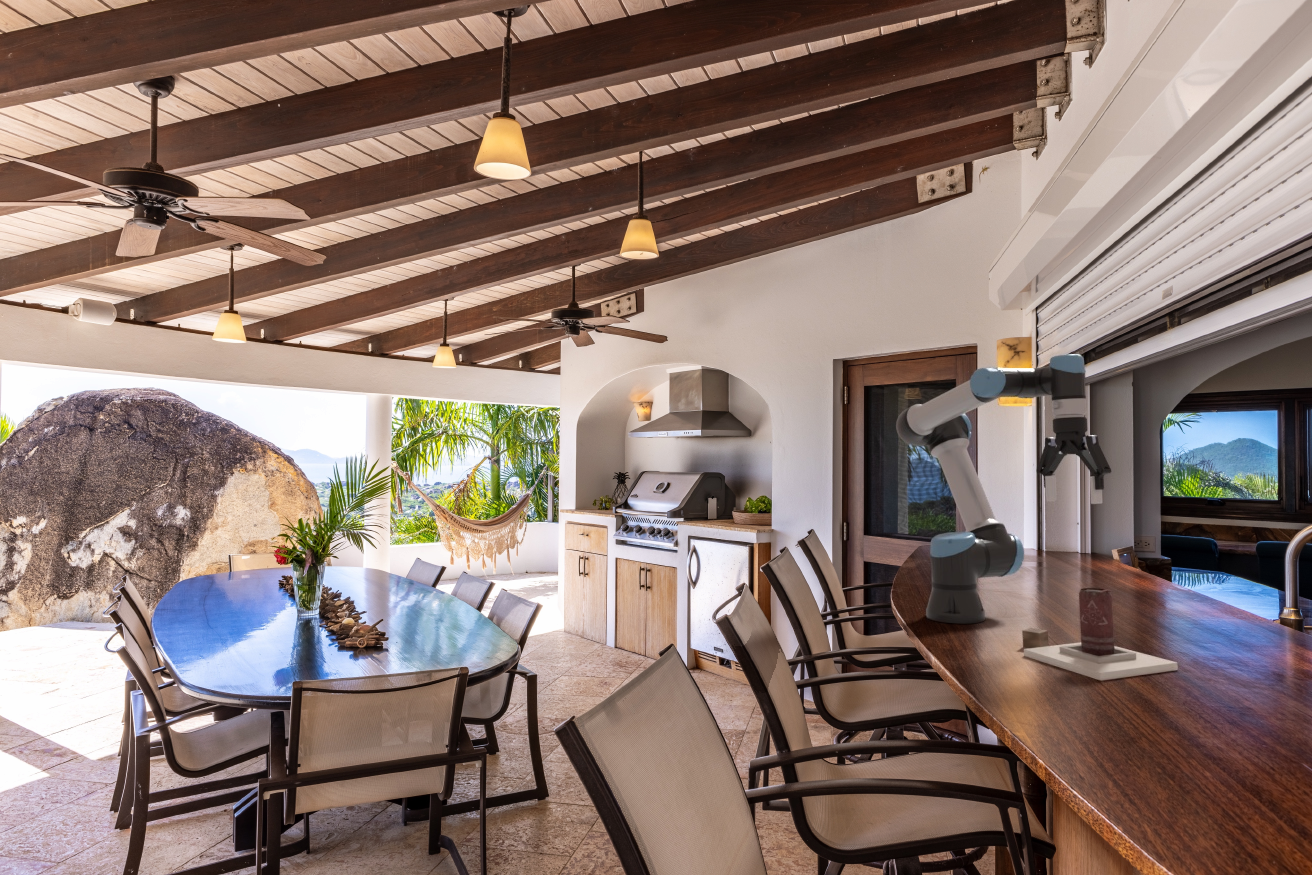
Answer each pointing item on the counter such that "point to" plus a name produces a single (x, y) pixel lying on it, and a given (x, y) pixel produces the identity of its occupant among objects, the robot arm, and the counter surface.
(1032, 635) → the walnut block
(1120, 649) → the board
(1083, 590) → the can
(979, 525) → the robot arm
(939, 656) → the counter surface
